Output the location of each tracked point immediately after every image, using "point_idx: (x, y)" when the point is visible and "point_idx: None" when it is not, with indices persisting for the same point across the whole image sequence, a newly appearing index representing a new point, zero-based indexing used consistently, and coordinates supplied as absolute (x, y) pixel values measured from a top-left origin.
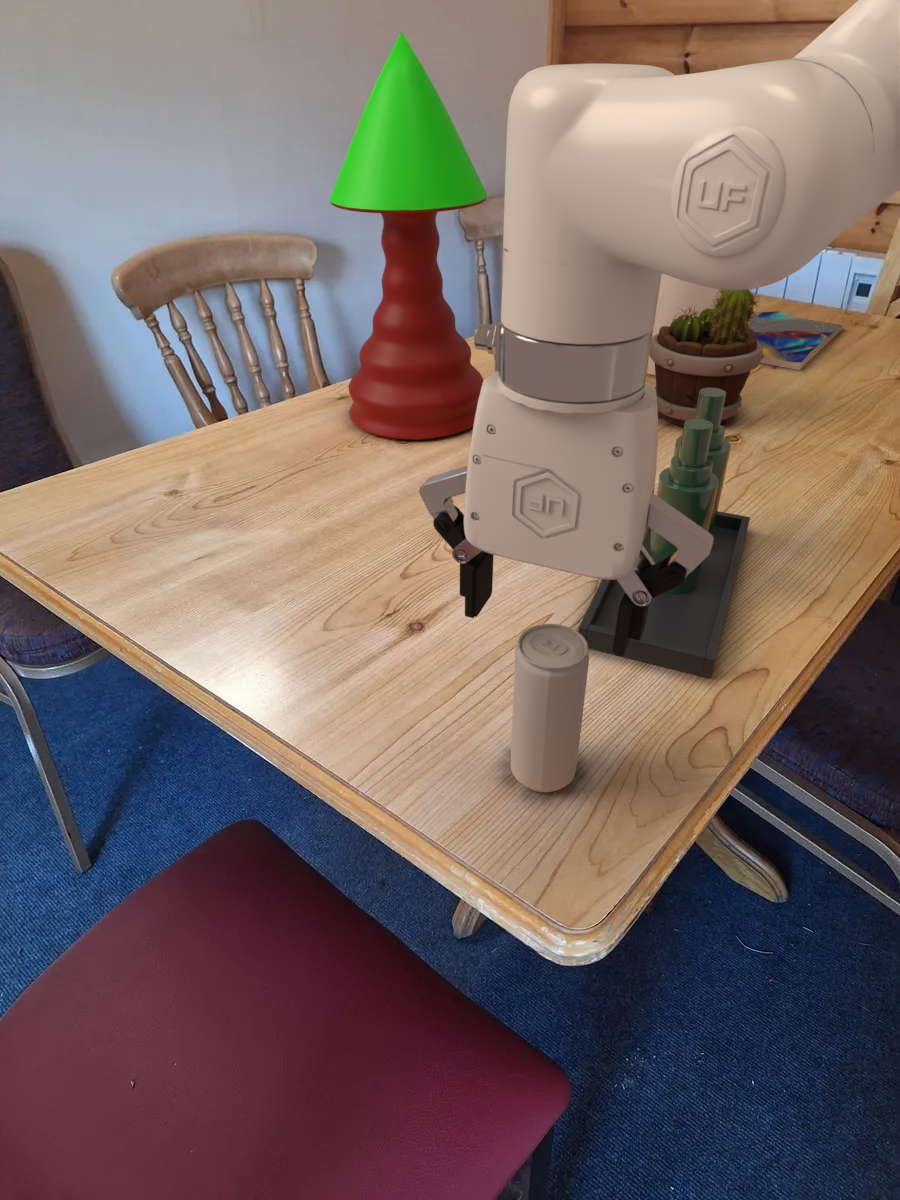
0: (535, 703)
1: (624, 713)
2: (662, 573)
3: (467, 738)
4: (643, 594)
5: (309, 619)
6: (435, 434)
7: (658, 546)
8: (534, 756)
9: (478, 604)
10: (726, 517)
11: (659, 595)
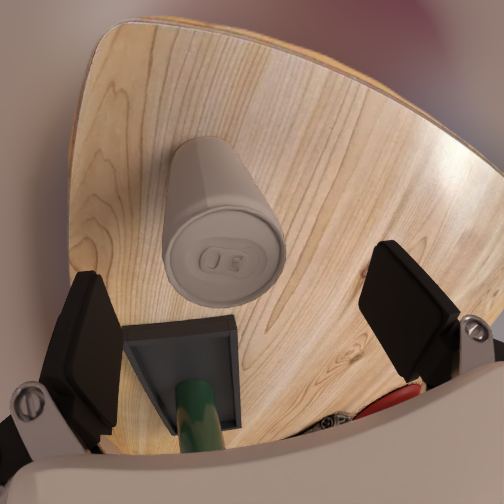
0: (219, 172)
1: (163, 266)
2: (5, 465)
3: (289, 173)
4: (24, 411)
5: (435, 242)
6: (377, 403)
7: (207, 412)
8: (207, 147)
9: (384, 267)
10: None
11: (194, 376)
